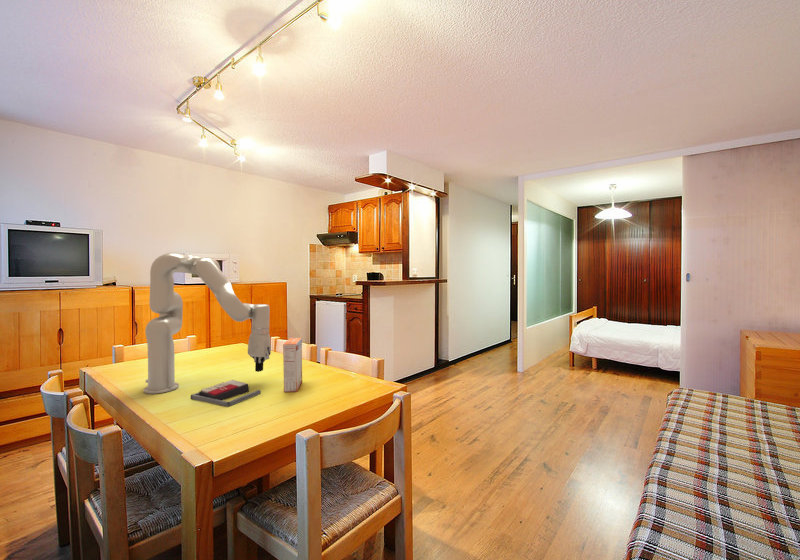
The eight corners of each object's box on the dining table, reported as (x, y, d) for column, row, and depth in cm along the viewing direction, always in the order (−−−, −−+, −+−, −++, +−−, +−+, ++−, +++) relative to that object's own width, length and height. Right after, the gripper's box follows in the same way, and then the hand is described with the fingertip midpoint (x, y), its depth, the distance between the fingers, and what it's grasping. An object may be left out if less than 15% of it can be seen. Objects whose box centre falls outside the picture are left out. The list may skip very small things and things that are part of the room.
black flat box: (198, 389, 140) (232, 378, 153) (199, 399, 140) (233, 387, 153) (214, 394, 135) (248, 382, 147) (215, 405, 135) (249, 391, 148)
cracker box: (289, 382, 161) (289, 337, 160) (302, 382, 161) (302, 337, 161) (282, 392, 147) (282, 343, 146) (297, 392, 147) (297, 343, 147)
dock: (190, 398, 139) (190, 395, 139) (225, 387, 154) (225, 383, 154) (227, 406, 130) (227, 403, 130) (260, 393, 145) (260, 390, 145)
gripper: (241, 330, 158) (240, 370, 158) (266, 333, 152) (265, 375, 152) (254, 328, 165) (253, 366, 165) (278, 331, 159) (277, 371, 159)
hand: (259, 370), depth 159 cm, fingers closed
